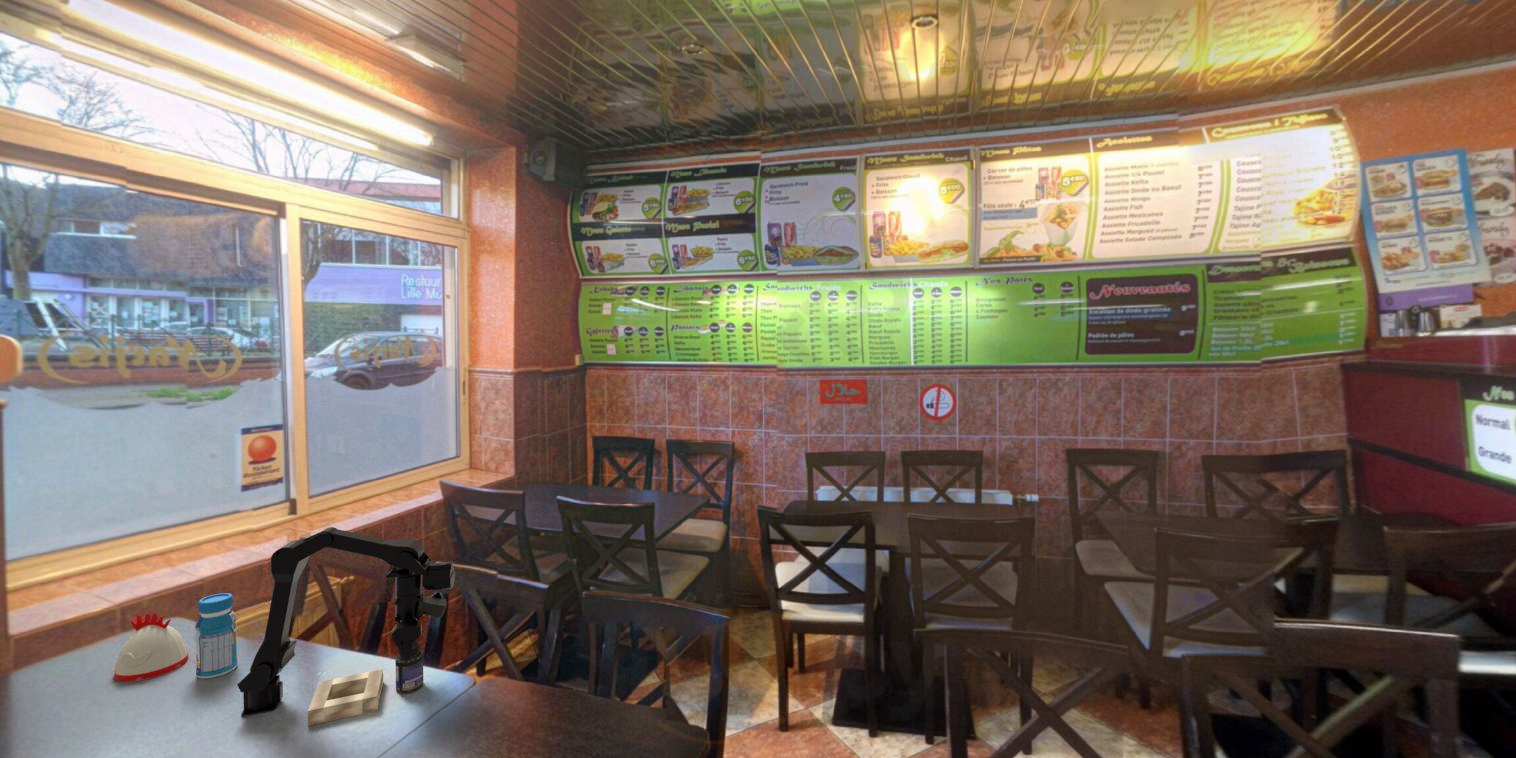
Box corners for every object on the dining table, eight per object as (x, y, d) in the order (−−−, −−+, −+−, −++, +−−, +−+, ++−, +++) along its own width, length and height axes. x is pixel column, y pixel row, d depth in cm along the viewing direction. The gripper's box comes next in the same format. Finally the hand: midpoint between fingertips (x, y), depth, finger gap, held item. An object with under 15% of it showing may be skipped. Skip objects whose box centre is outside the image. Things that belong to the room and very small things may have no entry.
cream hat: (138, 658, 163) (136, 605, 162) (199, 651, 167) (198, 599, 166) (99, 685, 150) (98, 627, 149) (167, 677, 154) (166, 621, 153)
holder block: (307, 725, 135) (307, 710, 135) (319, 695, 147) (319, 681, 147) (377, 710, 141) (377, 696, 141) (383, 682, 153) (383, 669, 153)
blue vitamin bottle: (212, 681, 152) (210, 605, 151) (186, 677, 154) (184, 602, 153) (246, 664, 160) (245, 592, 159) (221, 661, 162) (220, 589, 161)
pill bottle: (428, 681, 153) (428, 640, 153) (412, 695, 147) (412, 652, 147) (406, 680, 154) (406, 639, 154) (389, 693, 148) (389, 650, 148)
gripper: (444, 599, 145) (444, 661, 146) (444, 574, 162) (444, 629, 162) (391, 608, 140) (391, 672, 141) (397, 580, 157) (397, 638, 157)
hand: (408, 651), depth 150 cm, fingers open, 9 cm apart
